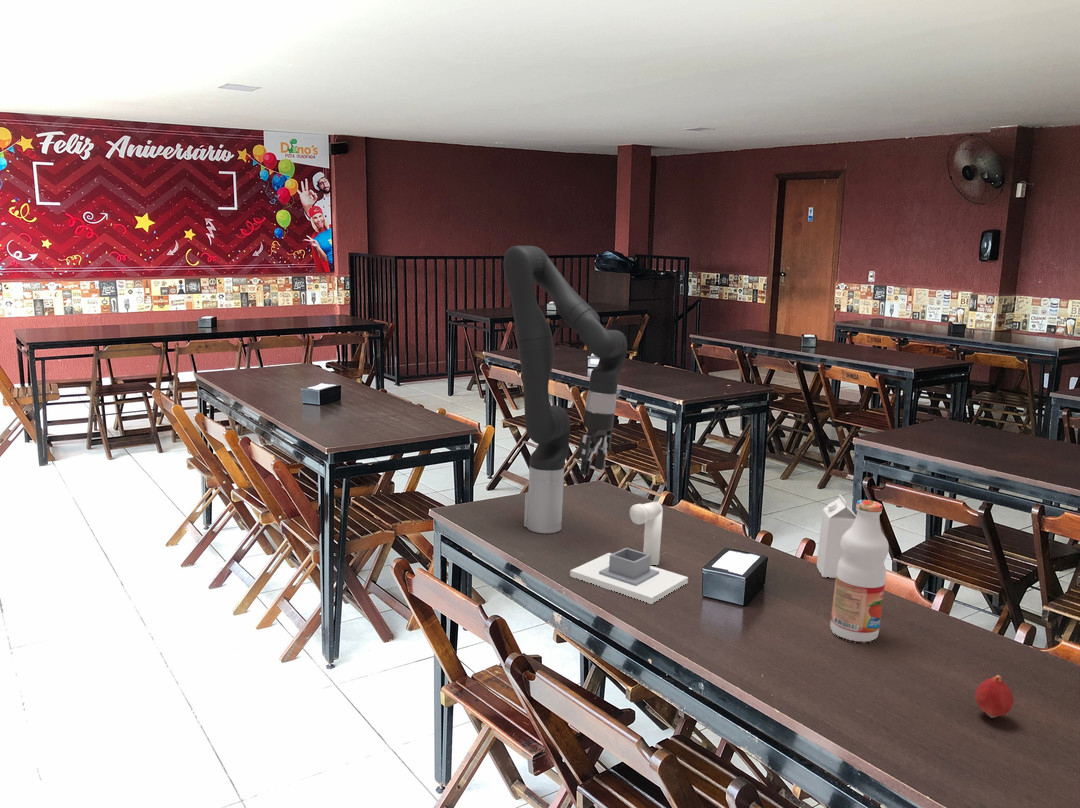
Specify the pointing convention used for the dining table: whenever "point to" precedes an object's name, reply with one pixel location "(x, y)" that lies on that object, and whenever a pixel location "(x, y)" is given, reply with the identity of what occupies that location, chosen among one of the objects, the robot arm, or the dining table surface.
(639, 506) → the elbow
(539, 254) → the robot arm
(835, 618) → the fruit juice
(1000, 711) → the onion
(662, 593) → the duct
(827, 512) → the milk carton
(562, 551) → the dining table surface
